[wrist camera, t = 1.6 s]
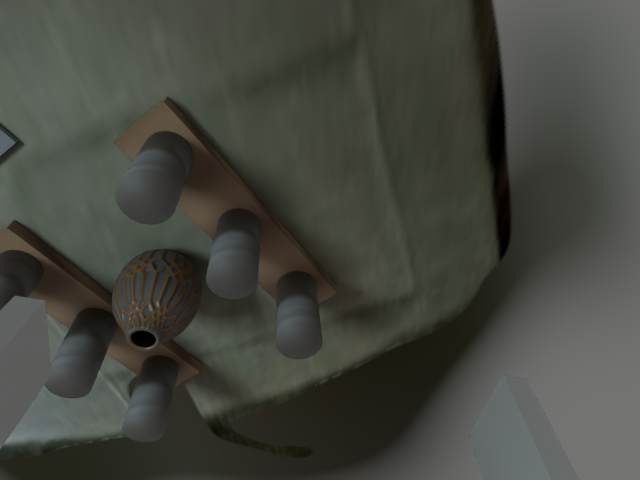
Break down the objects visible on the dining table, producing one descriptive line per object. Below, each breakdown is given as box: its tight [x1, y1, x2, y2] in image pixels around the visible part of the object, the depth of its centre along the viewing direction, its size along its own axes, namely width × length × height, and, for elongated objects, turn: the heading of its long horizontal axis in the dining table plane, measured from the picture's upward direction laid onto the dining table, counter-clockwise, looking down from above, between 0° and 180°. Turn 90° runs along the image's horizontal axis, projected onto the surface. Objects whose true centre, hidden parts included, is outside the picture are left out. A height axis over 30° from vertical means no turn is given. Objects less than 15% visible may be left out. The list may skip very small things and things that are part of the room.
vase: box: [112, 249, 201, 351], centre depth 38 cm, size 7×7×9 cm
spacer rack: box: [0, 97, 337, 442], centre depth 38 cm, size 22×22×8 cm
